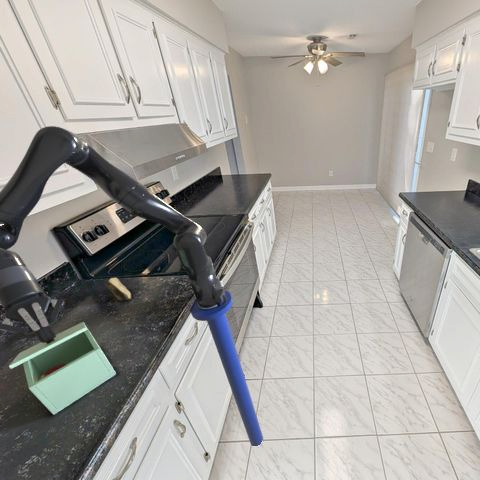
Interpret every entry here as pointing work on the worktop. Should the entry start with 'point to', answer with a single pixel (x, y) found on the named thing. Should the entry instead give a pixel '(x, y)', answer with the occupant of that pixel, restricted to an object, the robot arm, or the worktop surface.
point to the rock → (118, 289)
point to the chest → (68, 371)
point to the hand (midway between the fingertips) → (50, 341)
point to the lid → (44, 346)
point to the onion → (52, 370)
